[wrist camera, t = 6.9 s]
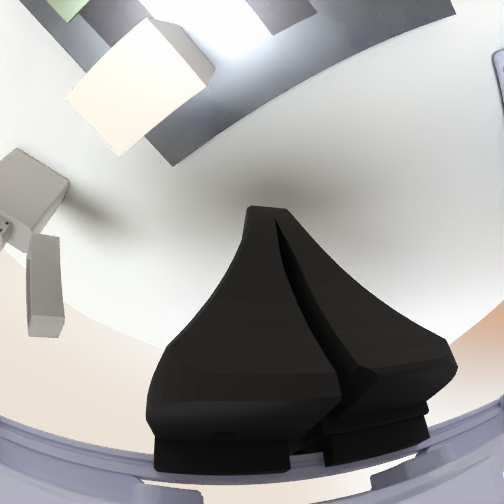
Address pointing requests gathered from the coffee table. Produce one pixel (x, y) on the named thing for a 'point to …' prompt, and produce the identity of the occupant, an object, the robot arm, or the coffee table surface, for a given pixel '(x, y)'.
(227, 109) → the switch unit
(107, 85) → the switch
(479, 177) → the coffee table surface
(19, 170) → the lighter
